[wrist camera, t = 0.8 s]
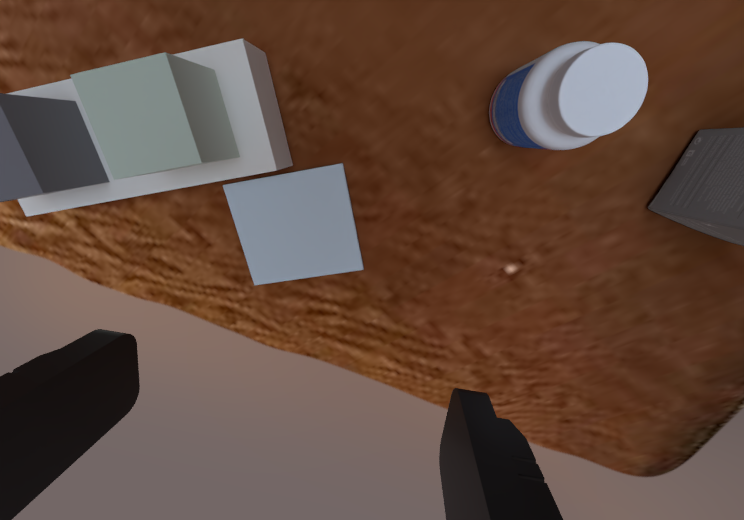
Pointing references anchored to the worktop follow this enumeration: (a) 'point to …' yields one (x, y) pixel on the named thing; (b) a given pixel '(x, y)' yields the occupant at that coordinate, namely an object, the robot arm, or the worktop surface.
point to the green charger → (156, 115)
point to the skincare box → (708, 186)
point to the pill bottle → (569, 96)
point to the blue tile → (296, 224)
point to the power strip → (257, 155)
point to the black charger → (44, 148)
